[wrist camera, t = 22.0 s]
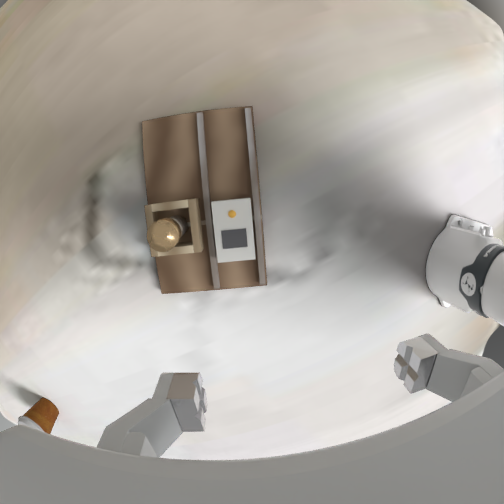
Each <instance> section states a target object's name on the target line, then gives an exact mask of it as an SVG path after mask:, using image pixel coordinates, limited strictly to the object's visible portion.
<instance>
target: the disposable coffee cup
mask: <svg viewBox="0 0 504 504" xmlns="http://www.w3.org/2000/svg"><path fill="white" fill-rule="evenodd" d="M58 414H59V411H58V409H57V408H56V406H55V405H54V404H53V403H52V402H51V401H49V400H48V399H46V398H41V399H40V400H39V401H38V402H37V403H36V404H35V405H34V406H33V407H32V408H30V409H29V410H28V411H27V412H26V413H25V414H24V415H23V416H20V417H19V421H18V425H19V424H22V425H27V426H30V427H32V428H35V429H37V430H40V431H42V432H45V433H48V434H50V433H51V431H52V428H53V426H54V423H55V421H56V419H57V416H58Z"/></svg>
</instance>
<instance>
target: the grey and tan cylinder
mask: <svg viewBox="0 0 504 504" xmlns="http://www.w3.org/2000/svg"><path fill="white" fill-rule="evenodd" d="M187 229H188V223H187V220H186V219H185V218H184V217H183V216H181V215H175V216H172V217H170V218H163V219H160V220H158V221H156V222H154V223H152V224H151V225H150V227H149V228H148V231H147V240H148V243H149V245H150V246H151V247H152V248H153V249H154V250H156V251H158V252H167V251H169V250H171V249H172V248H173V247H174V246H175V245H176V244H177V243H178V242H179V241H180V239H181V236H182V235H183V234H185V233H186V231H187Z"/></svg>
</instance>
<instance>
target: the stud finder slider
mask: <svg viewBox="0 0 504 504" xmlns="http://www.w3.org/2000/svg"><path fill="white" fill-rule="evenodd" d="M211 205H212V215H213V225H214V234H215V243H216V252H217V260H218V263H222V262H233V261H243V260H254V259H256V257H255V245H254V234H253V222H252V210H251V199H250V198H240V199H230V200H220V201H212V202H211Z"/></svg>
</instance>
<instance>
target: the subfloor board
mask: <svg viewBox="0 0 504 504" xmlns="http://www.w3.org/2000/svg"><path fill="white" fill-rule="evenodd" d="M142 133H143V153H144V168H145V180H146V191H147V201H148V205H150V204H156V203H164V202H171V201H179V200H186V199H195V198H199V207H200V216H201V226H202V234H203V243H204V248H203V250H202V252H198V253H187V254H177V255H167V256H157V257H155V259H156V265H157V271H158V276H159V282H160V287H161V292H162V294H168V293H182V292H196V291H208V290H220V289H231V288H242V287H253V286H263V285H267V275H266V262H265V249H264V236H263V223H262V211H261V199H260V187H259V175H258V163H257V152H256V141H255V130H254V119H253V109H252V106H249V107H235V108H224V109H215V110H206V111H199V112H192V113H185V114H179V115H173V116H167V117H162V118H157V119H152V120H147V121H142ZM240 198H250V199H251V210H252V222H253V234H254V245H255V257H256V259H254V260H243V261H233V262H222V263H218V260H217V252H216V243H215V234H214V225H213V215H212V205H211V202H212V201H220V200H230V199H240ZM175 215H181V216H183V217H184V218H185V219H186V220H187V223H188V229H187V231H186V233H185V234H183V235H182V236H181V239H180V241H179V242H178V243H183V242H192V234H191V226H190V217H189V208H188V207H187V208H179V209H171V210H163V211H159V219H163V218H170V217H172V216H175Z"/></svg>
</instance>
